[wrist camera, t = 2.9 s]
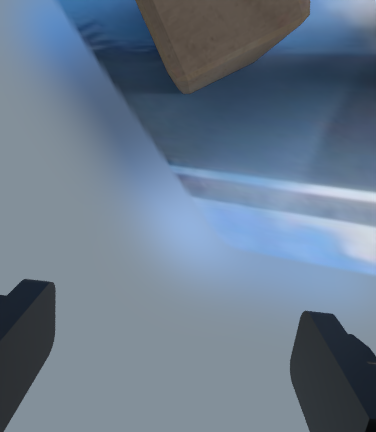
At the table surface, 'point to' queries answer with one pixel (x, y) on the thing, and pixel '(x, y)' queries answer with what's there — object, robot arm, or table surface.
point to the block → (217, 34)
